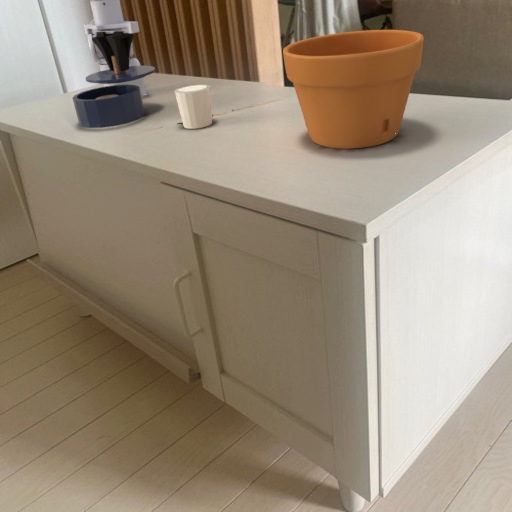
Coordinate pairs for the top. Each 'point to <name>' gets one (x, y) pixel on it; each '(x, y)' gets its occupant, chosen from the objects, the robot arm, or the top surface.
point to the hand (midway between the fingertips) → (119, 70)
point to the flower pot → (354, 84)
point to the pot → (109, 106)
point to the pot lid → (120, 74)
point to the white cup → (195, 105)
